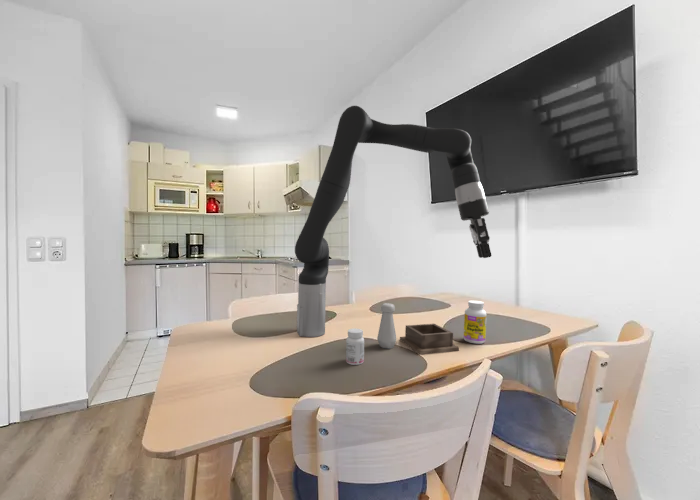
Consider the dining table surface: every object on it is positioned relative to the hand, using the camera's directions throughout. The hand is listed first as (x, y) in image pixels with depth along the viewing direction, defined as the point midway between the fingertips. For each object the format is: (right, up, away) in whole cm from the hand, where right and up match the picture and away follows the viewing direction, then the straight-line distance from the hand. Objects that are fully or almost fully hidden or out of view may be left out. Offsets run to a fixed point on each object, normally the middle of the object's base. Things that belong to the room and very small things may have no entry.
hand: (485, 257), depth 89 cm
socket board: (-13, -27, +10) cm, 32 cm away
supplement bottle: (+3, -28, +15) cm, 32 cm away
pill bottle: (-36, -28, -4) cm, 46 cm away
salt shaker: (-26, -27, +8) cm, 39 cm away
